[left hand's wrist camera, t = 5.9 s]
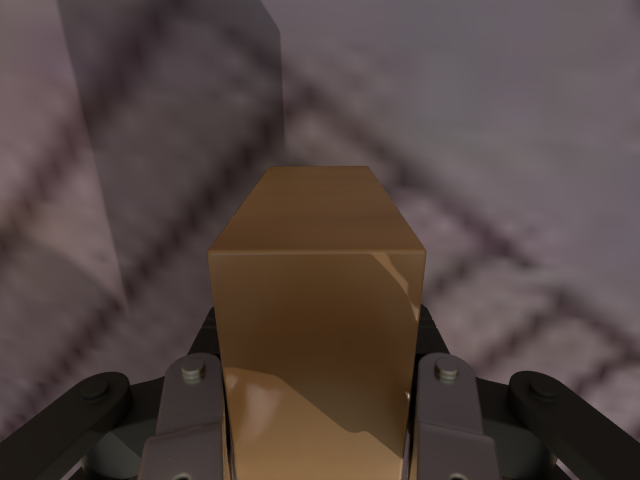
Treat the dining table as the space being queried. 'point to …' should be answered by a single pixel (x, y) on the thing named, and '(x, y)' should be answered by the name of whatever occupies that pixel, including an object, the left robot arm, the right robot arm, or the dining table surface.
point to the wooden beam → (317, 325)
